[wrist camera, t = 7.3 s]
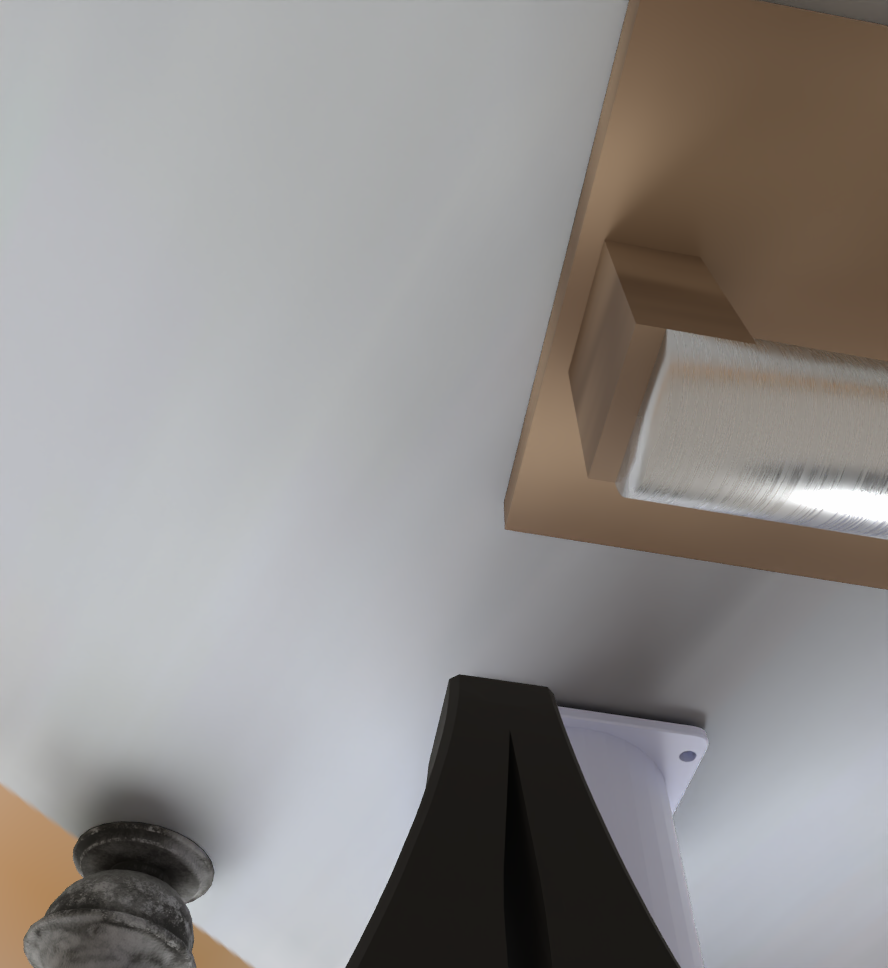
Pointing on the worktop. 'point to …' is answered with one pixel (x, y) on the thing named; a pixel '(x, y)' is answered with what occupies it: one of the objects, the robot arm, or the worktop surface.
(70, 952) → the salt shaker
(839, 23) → the pipe stand
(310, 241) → the worktop surface
